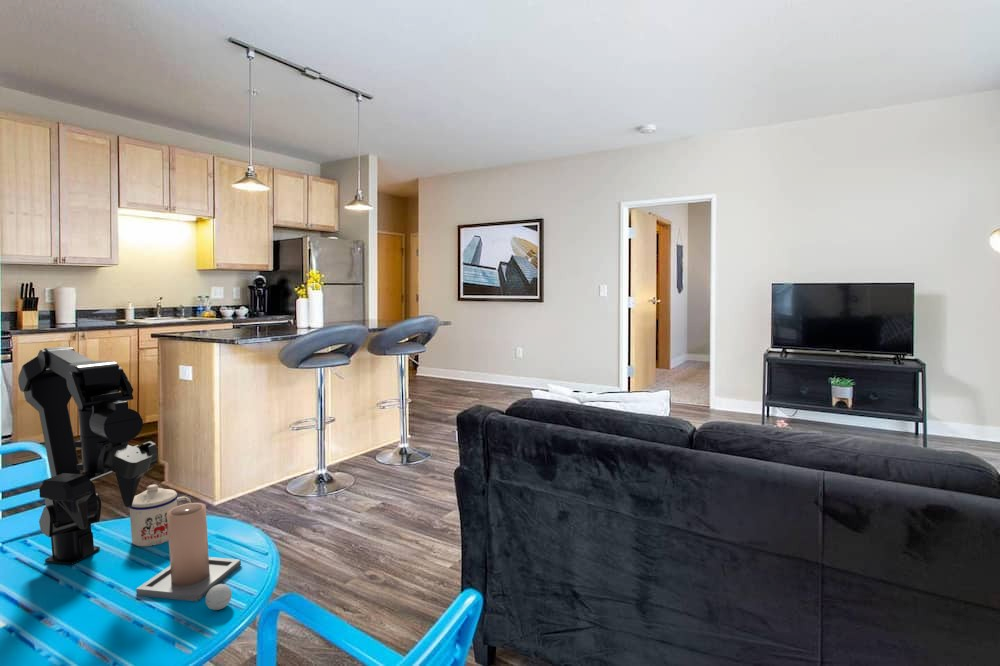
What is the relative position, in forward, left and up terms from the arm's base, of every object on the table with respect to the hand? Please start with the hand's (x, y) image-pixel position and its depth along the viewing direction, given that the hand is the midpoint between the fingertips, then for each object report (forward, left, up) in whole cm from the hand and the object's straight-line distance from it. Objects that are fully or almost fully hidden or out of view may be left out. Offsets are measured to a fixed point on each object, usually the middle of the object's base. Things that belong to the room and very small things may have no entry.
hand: (107, 517), depth 97 cm
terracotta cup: (+13, +4, -12) cm, 18 cm away
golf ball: (+24, -3, -13) cm, 28 cm away
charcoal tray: (+13, +4, -13) cm, 19 cm away
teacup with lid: (-6, +19, -13) cm, 24 cm away
